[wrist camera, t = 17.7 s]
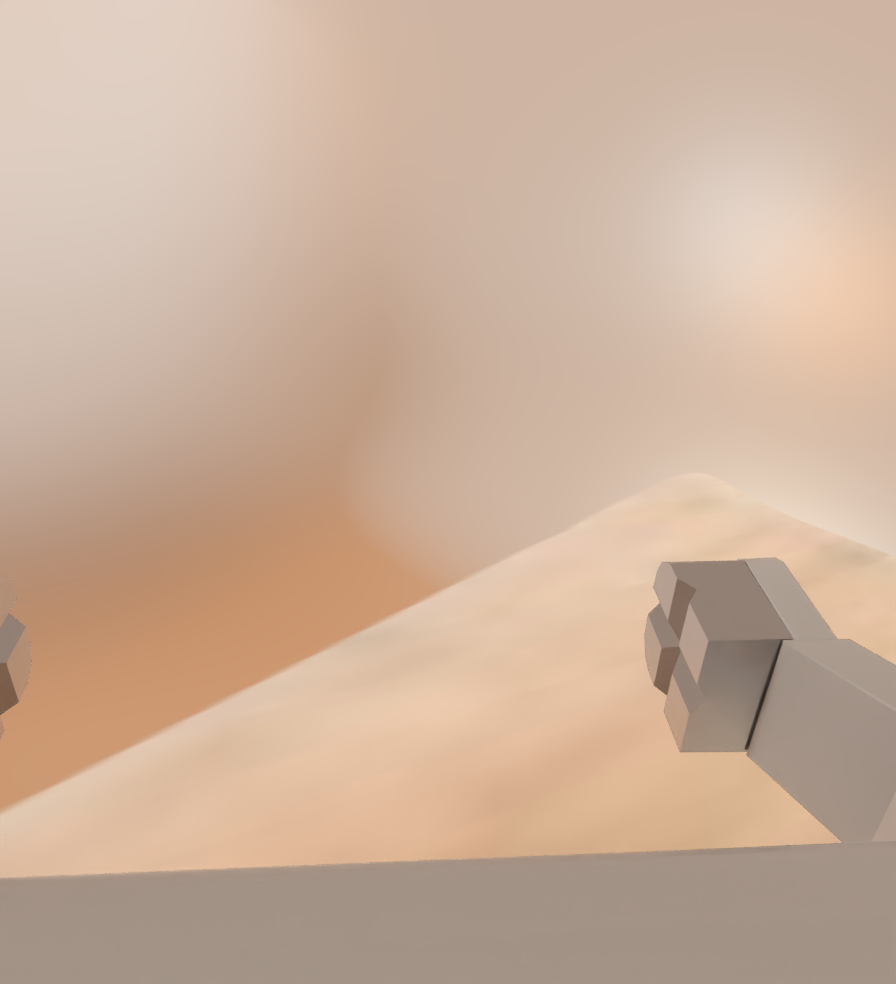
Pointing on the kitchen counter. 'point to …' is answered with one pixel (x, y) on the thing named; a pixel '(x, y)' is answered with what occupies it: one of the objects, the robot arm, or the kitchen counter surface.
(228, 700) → the kitchen counter surface
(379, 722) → the kitchen counter surface
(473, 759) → the kitchen counter surface
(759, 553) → the kitchen counter surface
